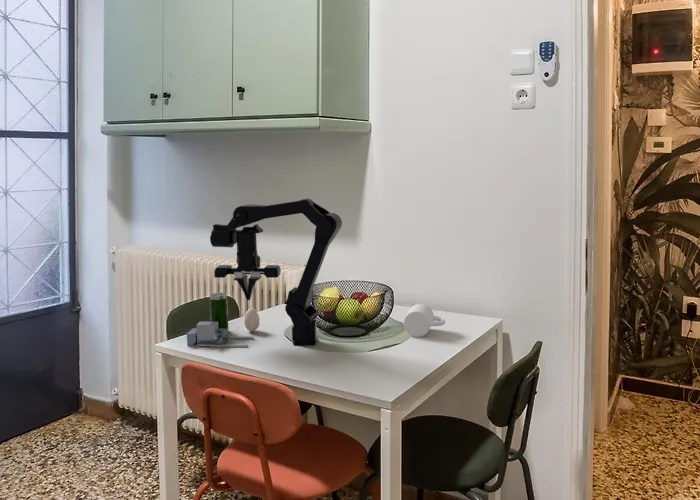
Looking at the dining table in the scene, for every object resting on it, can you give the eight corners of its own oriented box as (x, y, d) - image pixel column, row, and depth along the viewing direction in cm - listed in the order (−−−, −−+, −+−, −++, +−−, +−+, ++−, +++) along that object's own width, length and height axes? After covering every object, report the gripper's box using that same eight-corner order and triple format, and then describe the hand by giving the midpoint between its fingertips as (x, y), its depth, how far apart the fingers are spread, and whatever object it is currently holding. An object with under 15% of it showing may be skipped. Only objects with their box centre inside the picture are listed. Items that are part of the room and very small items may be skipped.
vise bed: (253, 338, 194) (253, 327, 194) (247, 347, 186) (247, 335, 185) (194, 338, 195) (193, 327, 195) (186, 346, 187) (185, 335, 186)
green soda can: (214, 335, 198) (213, 297, 196) (208, 331, 202) (206, 294, 201) (231, 332, 201) (229, 294, 199) (224, 328, 205) (223, 291, 203)
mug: (403, 336, 195) (403, 310, 194) (408, 327, 205) (408, 303, 203) (443, 339, 192) (443, 312, 191) (446, 329, 202) (447, 304, 201)
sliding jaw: (227, 338, 194) (227, 328, 193) (219, 348, 184) (219, 337, 184) (220, 338, 194) (219, 328, 193) (211, 348, 184) (211, 337, 184)
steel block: (200, 341, 193) (199, 321, 192) (218, 341, 192) (218, 321, 192) (197, 344, 189) (196, 324, 188) (215, 344, 189) (214, 324, 188)
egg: (254, 334, 199) (253, 310, 198) (241, 332, 201) (240, 309, 200) (262, 330, 203) (262, 307, 202) (250, 328, 205) (249, 305, 204)
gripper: (282, 243, 197) (284, 293, 200) (222, 243, 198) (224, 293, 201) (276, 249, 186) (278, 302, 189) (212, 249, 187) (214, 302, 190)
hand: (248, 299), depth 192 cm, fingers closed
